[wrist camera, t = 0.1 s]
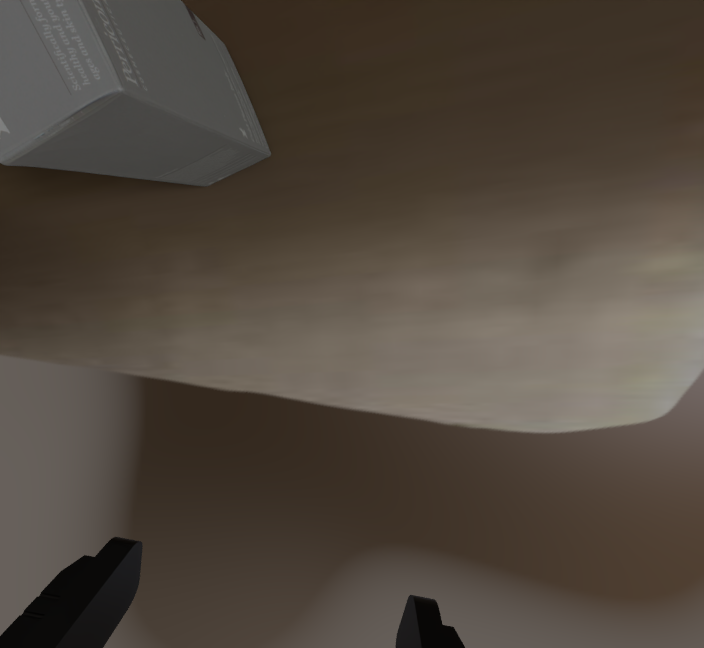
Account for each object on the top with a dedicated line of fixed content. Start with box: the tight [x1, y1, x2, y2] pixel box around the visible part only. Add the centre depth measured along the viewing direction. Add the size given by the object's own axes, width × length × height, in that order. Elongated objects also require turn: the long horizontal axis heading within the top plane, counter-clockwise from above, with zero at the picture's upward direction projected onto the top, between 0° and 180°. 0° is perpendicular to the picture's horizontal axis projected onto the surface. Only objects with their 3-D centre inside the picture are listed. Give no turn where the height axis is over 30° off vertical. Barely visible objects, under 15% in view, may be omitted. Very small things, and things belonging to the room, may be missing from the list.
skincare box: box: [0, 0, 271, 187], centre depth 18 cm, size 8×7×16 cm
